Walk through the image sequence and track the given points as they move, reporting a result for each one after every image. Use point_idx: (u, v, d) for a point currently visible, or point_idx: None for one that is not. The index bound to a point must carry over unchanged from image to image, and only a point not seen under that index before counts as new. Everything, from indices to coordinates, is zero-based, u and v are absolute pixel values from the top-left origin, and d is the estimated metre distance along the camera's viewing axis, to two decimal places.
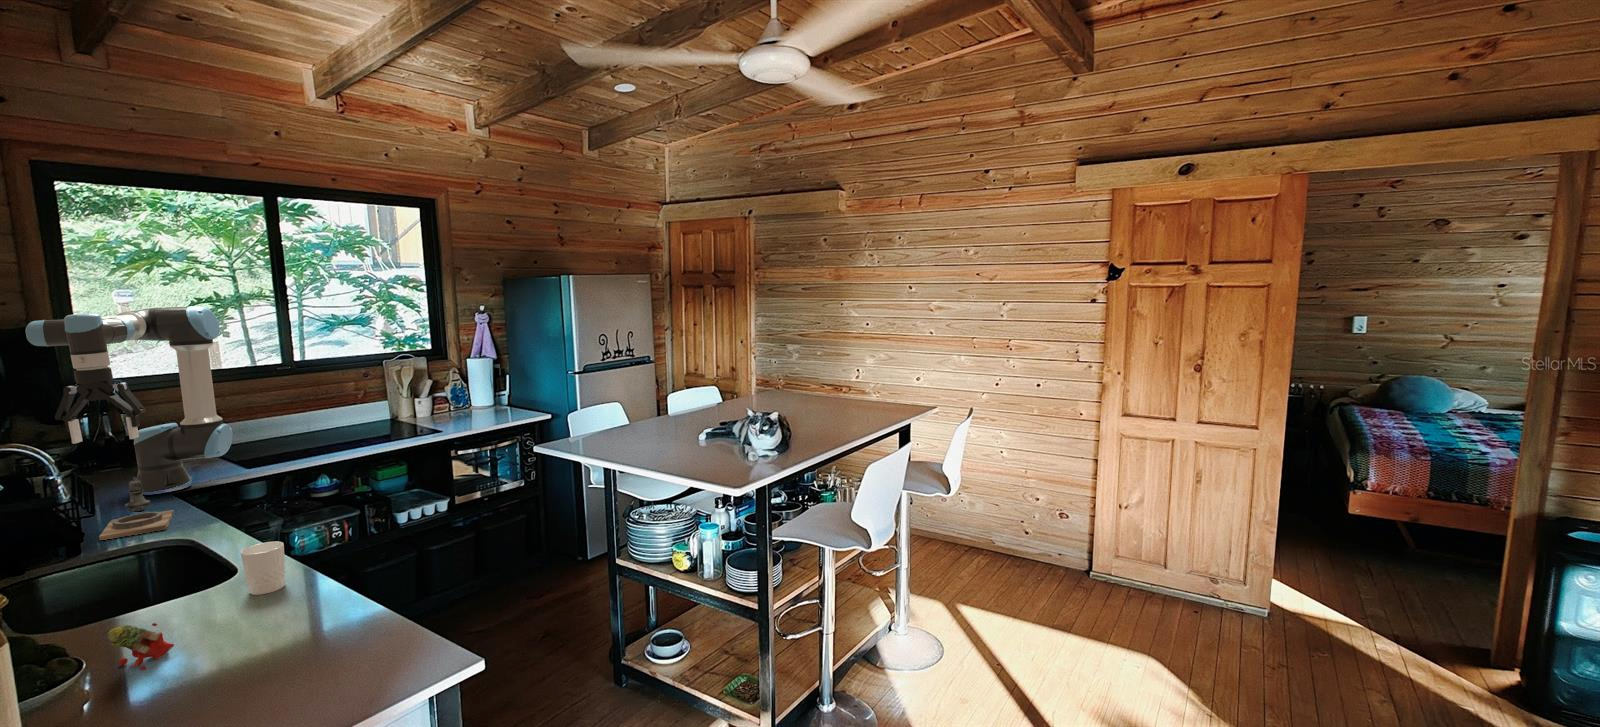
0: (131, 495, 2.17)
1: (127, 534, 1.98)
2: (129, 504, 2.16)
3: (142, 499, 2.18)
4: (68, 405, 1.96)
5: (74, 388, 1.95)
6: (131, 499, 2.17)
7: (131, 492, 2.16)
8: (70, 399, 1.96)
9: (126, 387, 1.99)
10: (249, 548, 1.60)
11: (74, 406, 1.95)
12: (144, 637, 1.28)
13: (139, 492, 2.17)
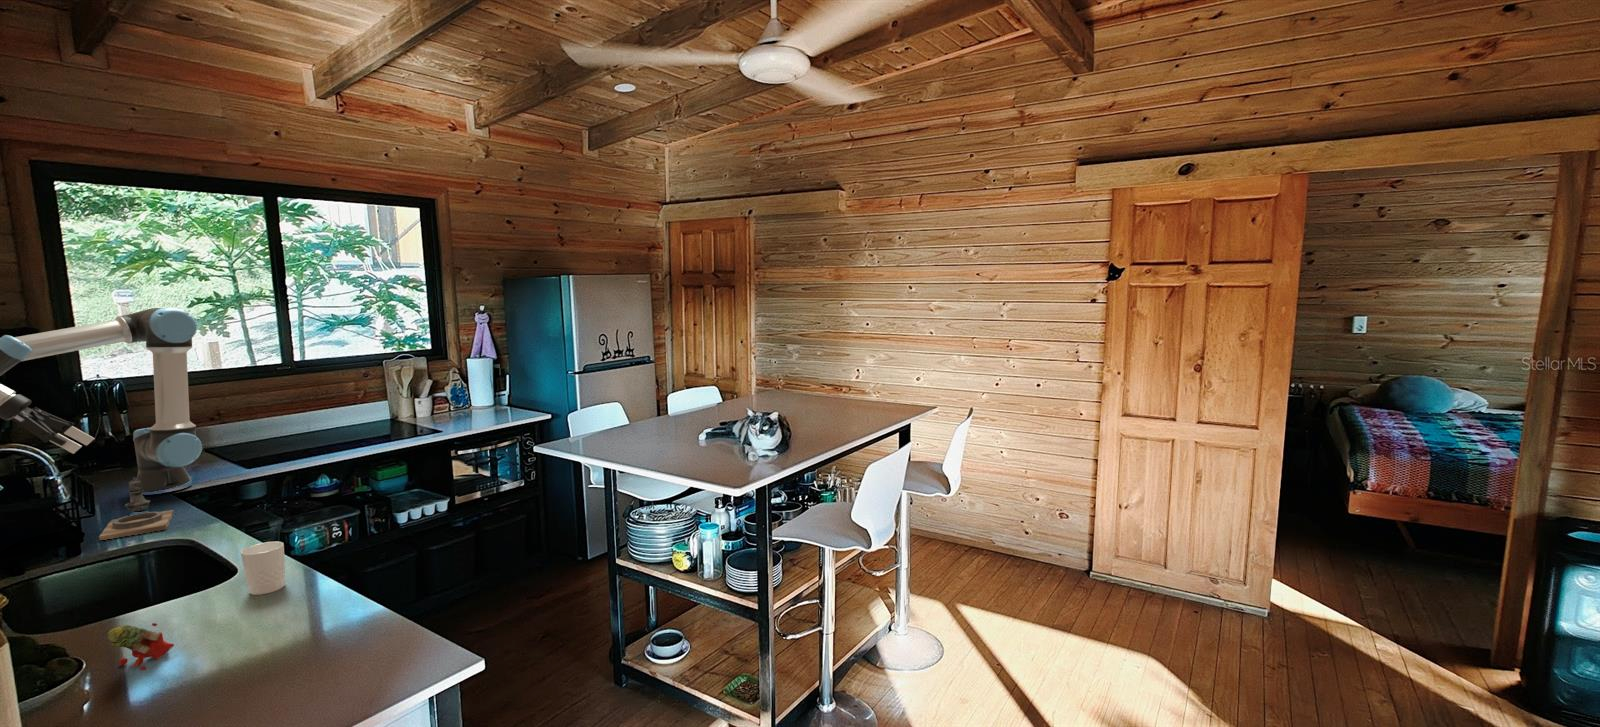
0: (130, 495, 2.17)
1: (127, 534, 1.98)
2: (129, 504, 2.16)
3: (142, 499, 2.18)
4: None
5: None
6: (131, 499, 2.17)
7: (131, 492, 2.16)
8: None
9: (21, 418, 1.98)
10: (249, 548, 1.60)
11: None
12: (144, 637, 1.28)
13: (139, 492, 2.17)
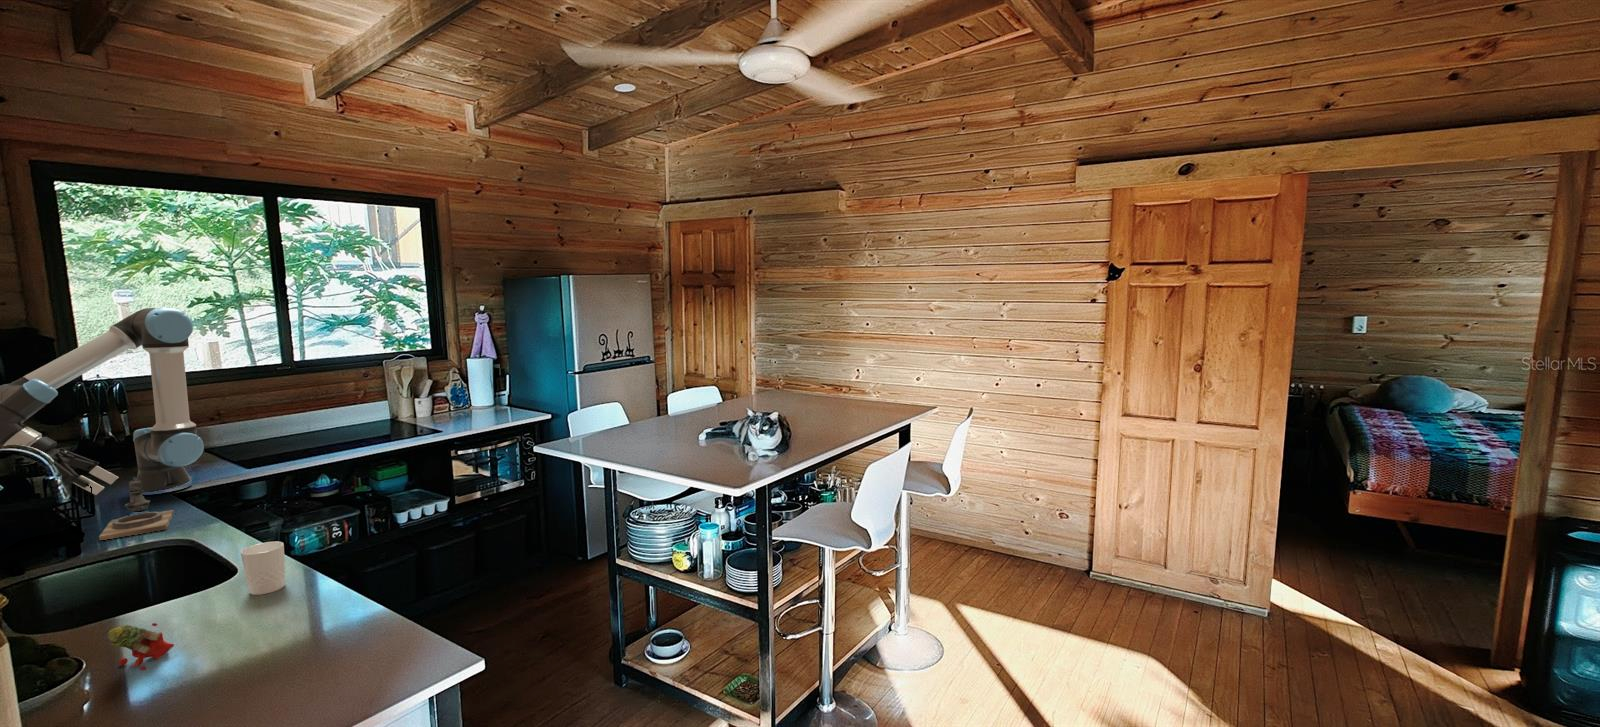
0: (131, 495, 2.17)
1: (127, 534, 1.98)
2: (129, 504, 2.16)
3: (142, 499, 2.18)
4: None
5: None
6: (131, 499, 2.17)
7: (131, 492, 2.16)
8: None
9: None
10: (249, 548, 1.60)
11: None
12: (144, 637, 1.28)
13: (139, 492, 2.17)
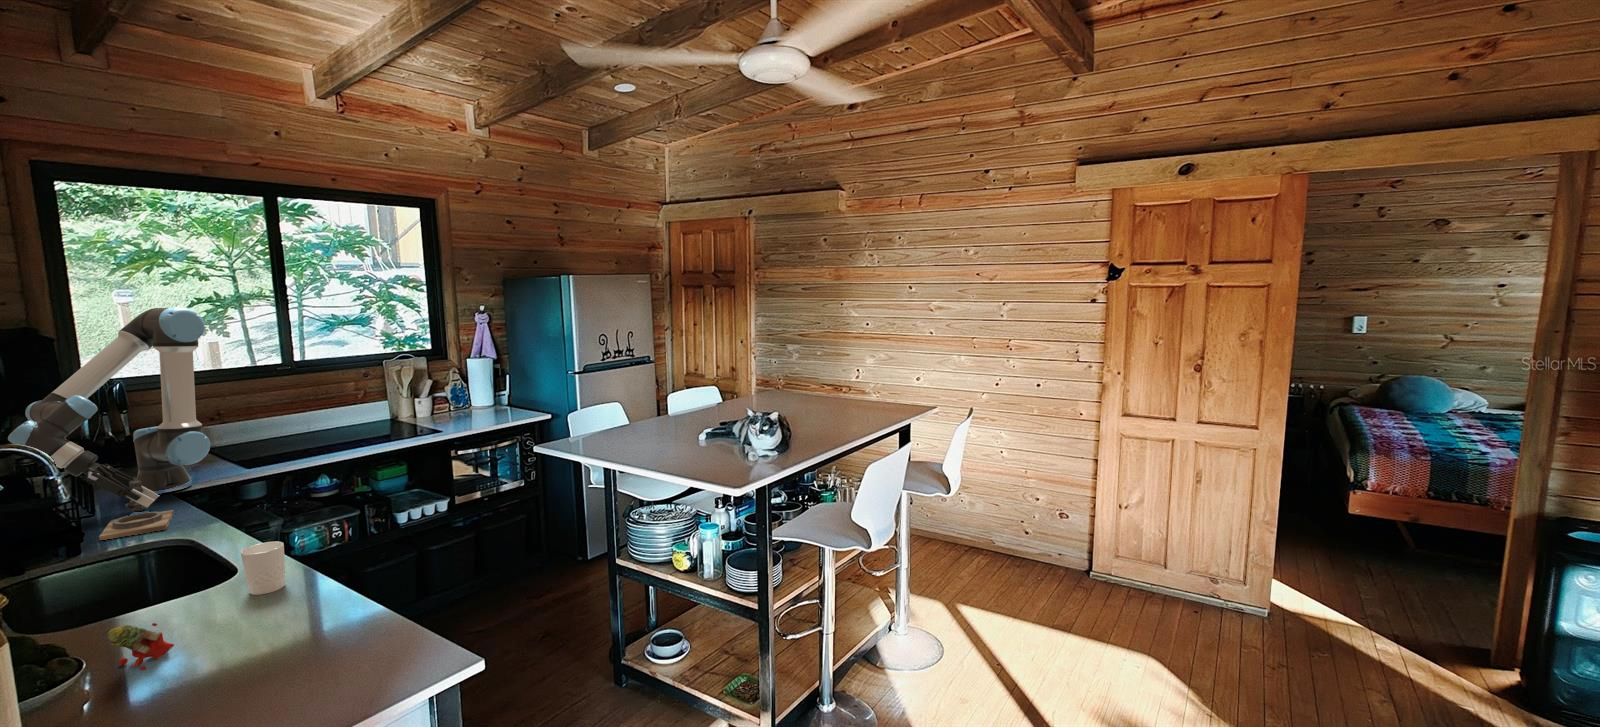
0: None
1: (127, 534, 1.98)
2: (129, 504, 2.16)
3: None
4: None
5: None
6: None
7: None
8: None
9: (95, 477, 2.08)
10: (249, 548, 1.60)
11: None
12: (144, 637, 1.28)
13: None
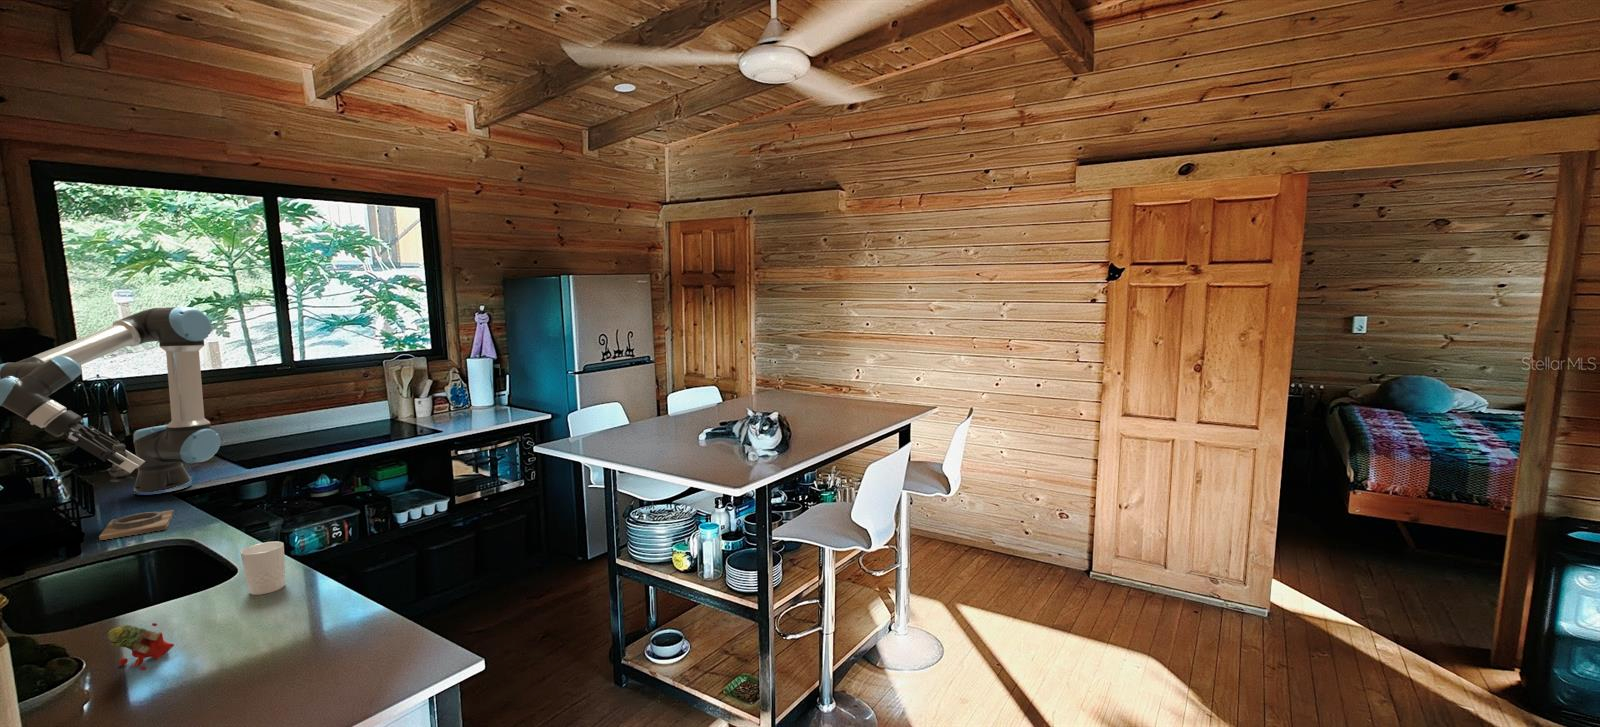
0: None
1: (127, 534, 1.98)
2: (111, 468, 2.05)
3: None
4: None
5: None
6: (113, 463, 2.06)
7: None
8: None
9: (76, 438, 1.97)
10: (249, 548, 1.60)
11: None
12: (144, 637, 1.28)
13: None
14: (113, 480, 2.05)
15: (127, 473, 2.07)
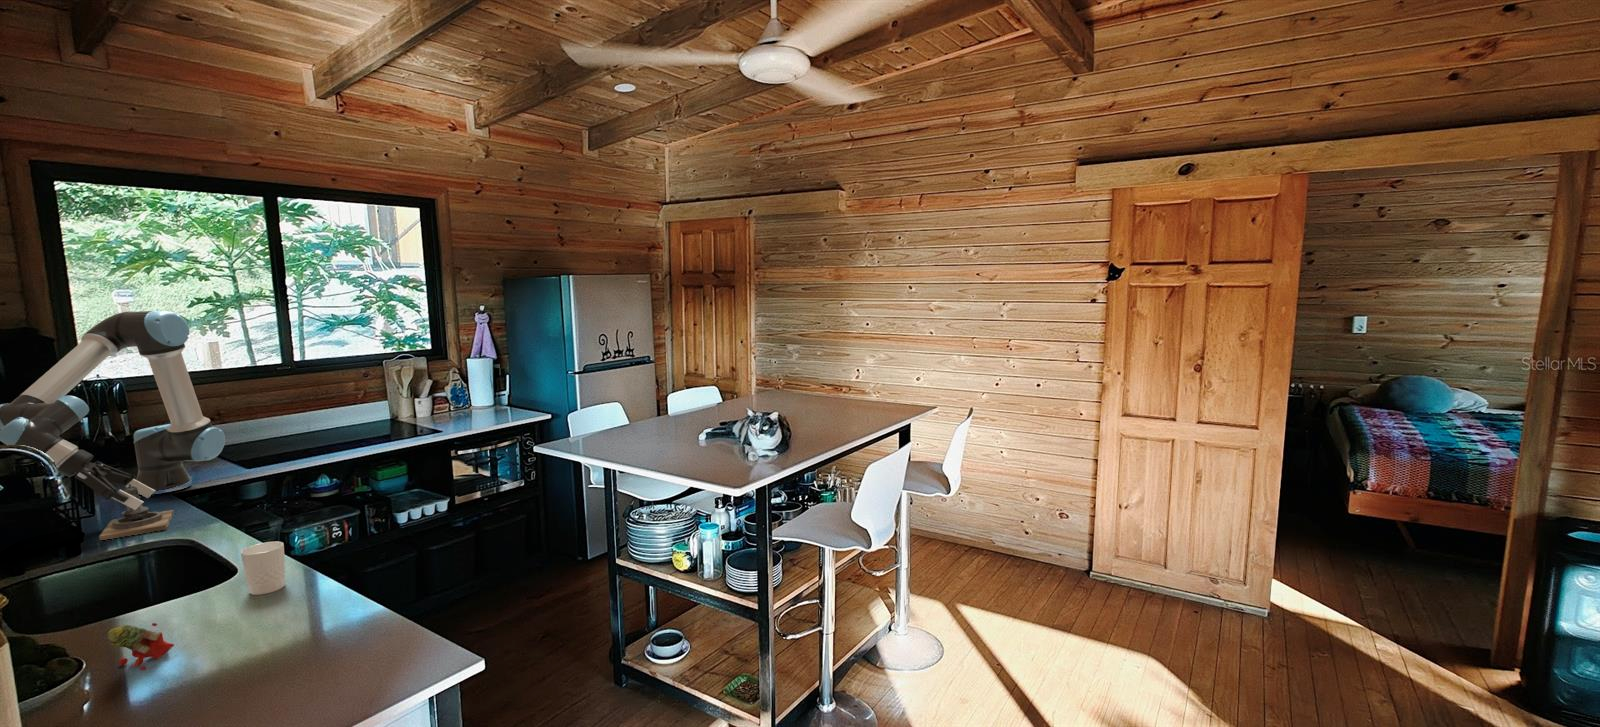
0: None
1: (127, 534, 1.98)
2: (126, 512, 2.03)
3: (140, 507, 2.05)
4: None
5: None
6: (127, 507, 2.03)
7: None
8: None
9: (83, 476, 1.94)
10: (249, 548, 1.60)
11: None
12: (144, 637, 1.28)
13: None
14: None
15: (142, 516, 2.05)
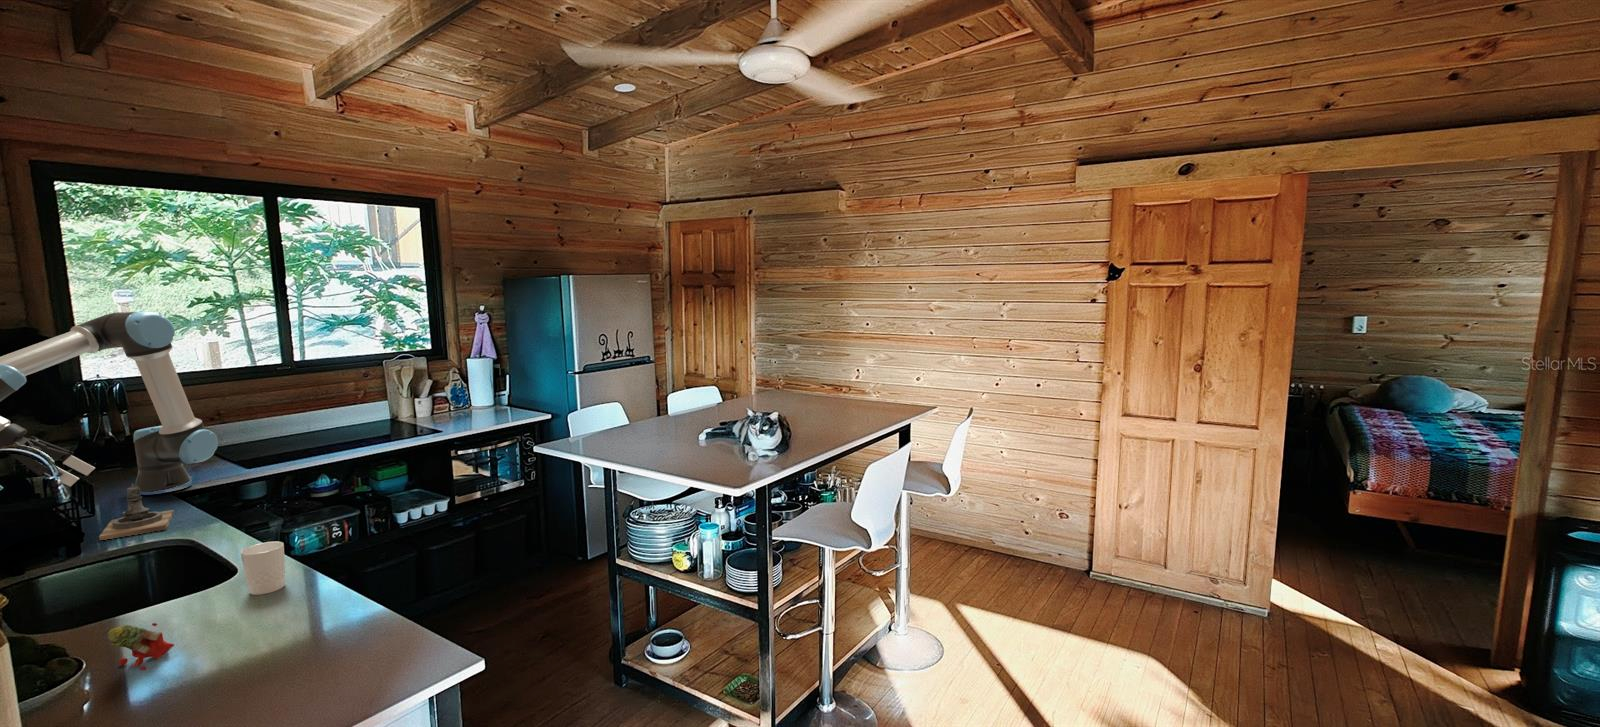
0: (128, 503, 2.04)
1: (127, 534, 1.98)
2: (127, 512, 2.03)
3: (140, 507, 2.05)
4: None
5: None
6: (128, 506, 2.04)
7: (129, 499, 2.03)
8: None
9: None
10: (249, 548, 1.60)
11: None
12: (144, 637, 1.28)
13: (137, 499, 2.04)
14: None
15: (142, 516, 2.05)
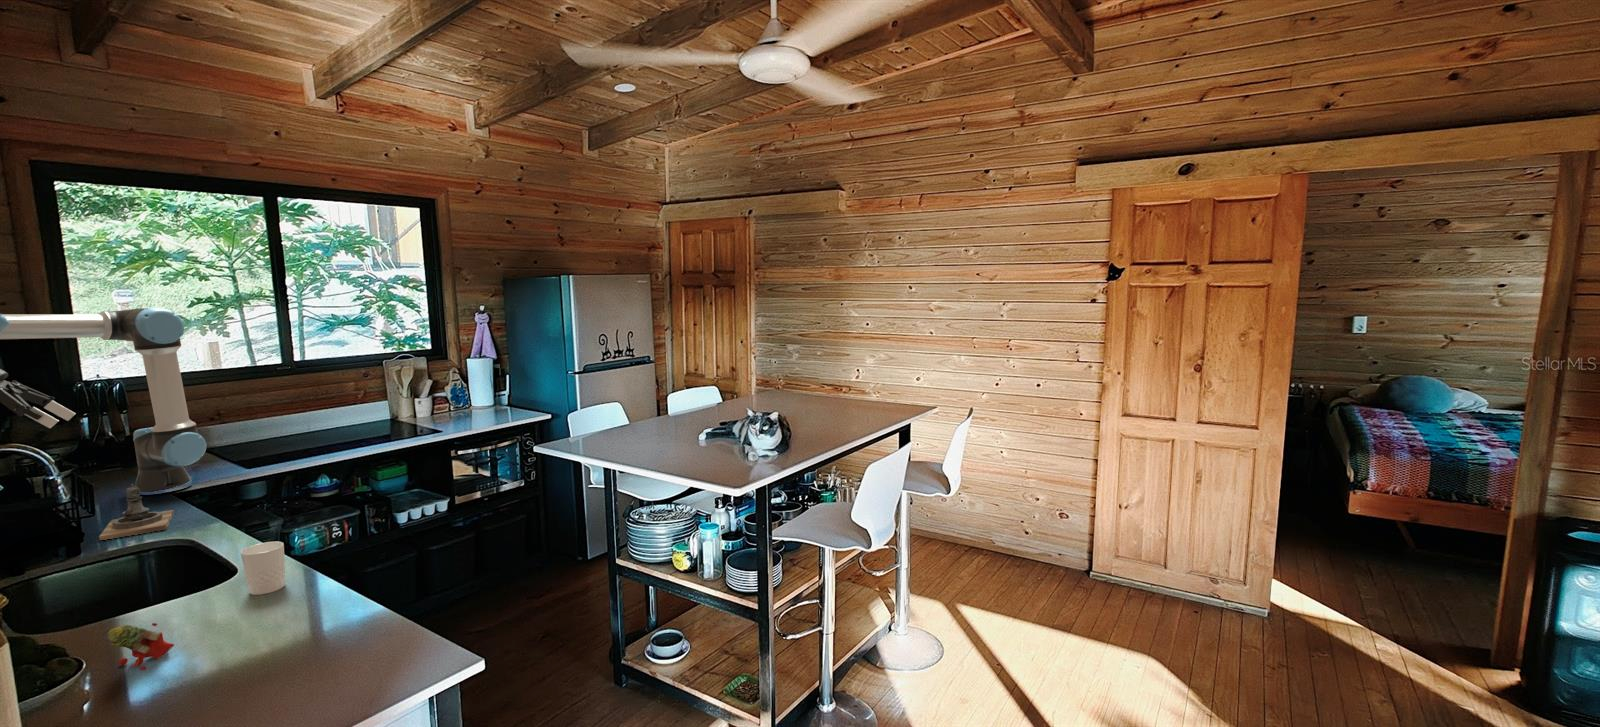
0: (128, 503, 2.03)
1: (127, 534, 1.98)
2: (126, 512, 2.03)
3: (140, 507, 2.05)
4: None
5: None
6: (128, 507, 2.04)
7: (129, 499, 2.03)
8: None
9: None
10: (249, 548, 1.60)
11: None
12: (144, 637, 1.28)
13: (137, 499, 2.04)
14: None
15: (142, 516, 2.05)
